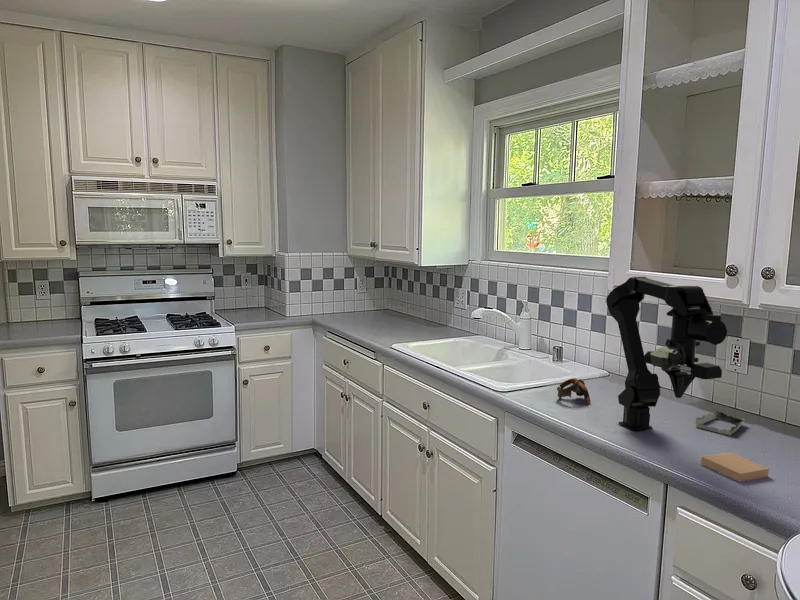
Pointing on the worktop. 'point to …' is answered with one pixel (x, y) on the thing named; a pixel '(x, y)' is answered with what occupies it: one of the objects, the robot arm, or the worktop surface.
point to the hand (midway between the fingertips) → (678, 397)
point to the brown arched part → (574, 389)
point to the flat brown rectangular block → (734, 466)
